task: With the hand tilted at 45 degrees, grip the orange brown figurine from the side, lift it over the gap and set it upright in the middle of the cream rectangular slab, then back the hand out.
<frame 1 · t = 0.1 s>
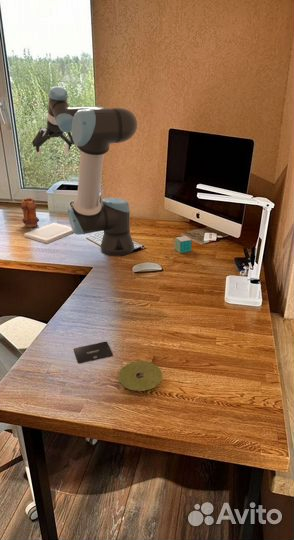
hand: (52, 154, 199), 36 cm above the table, tool tilted 35°, fingers open, 13 cm apart
solid state drive: (93, 354, 114), on the table
orange brown figurine: (32, 228, 208), on the table
puzzle toy: (182, 250, 181), on the table
olive green disc: (140, 381, 103), on the table
cream rectangular slab: (51, 233, 200), on the table
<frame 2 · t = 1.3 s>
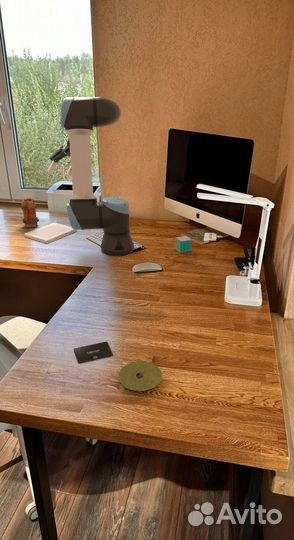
hand: (58, 174, 205), 26 cm above the table, tool tilted 45°, fingers open, 13 cm apart
nothing on the table moved.
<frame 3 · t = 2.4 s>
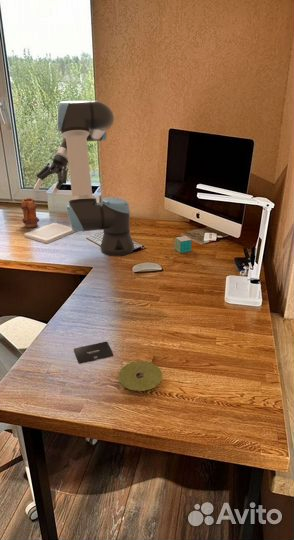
hand: (44, 191, 209), 17 cm above the table, tool tilted 45°, fingers open, 13 cm apart
nothing on the table moved.
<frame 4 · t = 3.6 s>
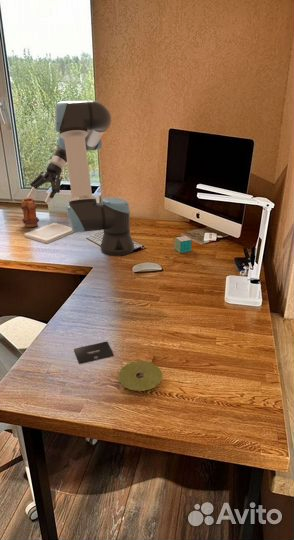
hand: (37, 200, 208), 13 cm above the table, tool tilted 45°, fingers open, 13 cm apart
nothing on the table moved.
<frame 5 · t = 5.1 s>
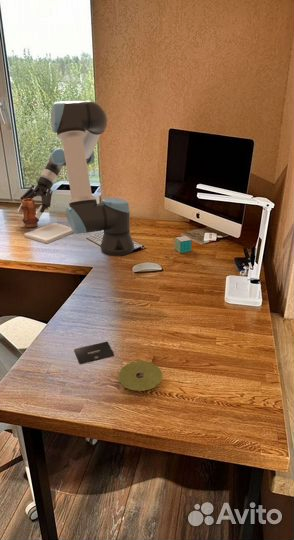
hand: (27, 215, 204), 7 cm above the table, tool tilted 45°, fingers open, 13 cm apart
orange brown figurine: (32, 228, 208), on the table, touching gripper
everything else where it was.
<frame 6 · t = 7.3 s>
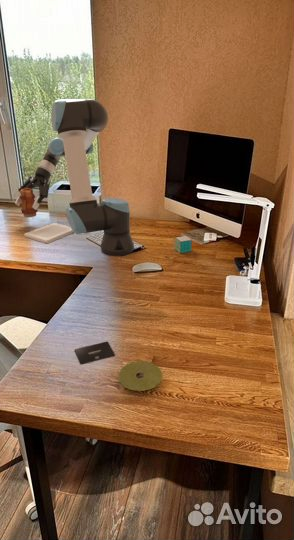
hand: (25, 206, 201), 12 cm above the table, tool tilted 45°, fingers closed on orange brown figurine, 12 cm apart
orange brown figurine: (30, 218, 206), point 5 cm above the table, touching gripper
everything else where it was.
when the fingers open (9 cm above the table, at t = 12.3 s): orange brown figurine drops 1 cm, resting on cream rectangular slab.
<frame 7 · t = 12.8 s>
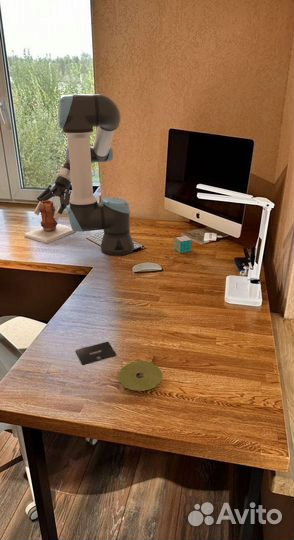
hand: (45, 216, 194), 10 cm above the table, tool tilted 45°, fingers open, 13 cm apart
orange brown figurine: (50, 231, 198), point 1 cm above the table, touching cream rectangular slab, gripper
everything else where it was.
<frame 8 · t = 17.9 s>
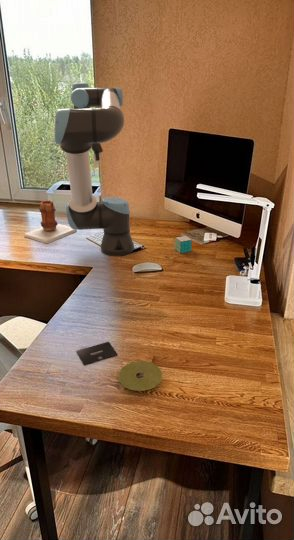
hand: (86, 165, 194), 32 cm above the table, tool pointing down, fingers open, 13 cm apart
orange brown figurine: (50, 231, 198), point 1 cm above the table, touching cream rectangular slab
at the end: orange brown figurine inside the target area on the cream rectangular slab (0.9 cm from its centre), point 1.4 cm above the cream rectangular slab's base; orange brown figurine tilted 0°; the gripper is holding nothing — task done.
